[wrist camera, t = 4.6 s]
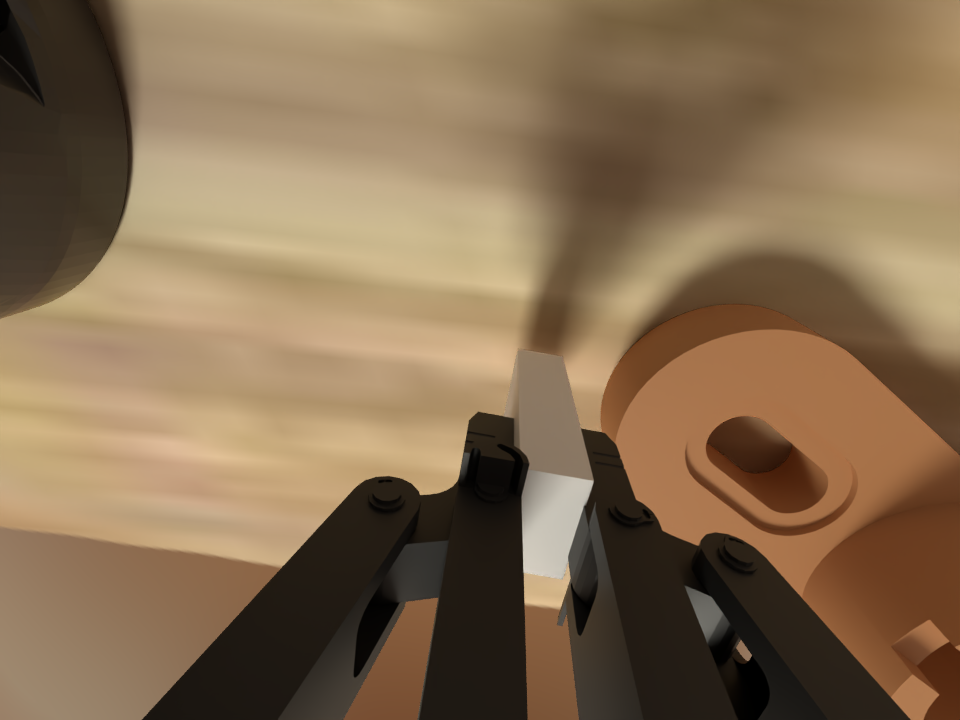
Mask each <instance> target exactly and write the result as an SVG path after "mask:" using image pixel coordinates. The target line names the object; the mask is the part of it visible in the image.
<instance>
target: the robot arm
mask: <svg viewBox="0 0 960 720" xmlns="http://www.w3.org/2000/svg"><path fill="white" fill-rule="evenodd" d="M127 172H128V150H127V134H126V126H125V118H124V112H123V107H122V101H121V96H120V92H119V88H118V84H117V80H116V76H115V73H114V70H113V66H112V63H111V60H110V56H109V54H108V51H107V48H106V45H105V43H104V40H103V37H102V35H101V32H100V30H99V27H98V25H97V23H96V20H95V18H94V16H93V13H92V11H91V9H90V7H89V5H88V3H87V1H86V0H0V319H1V318H4V317H7V316H10V315H13V314H16V313H20V312H23V311H26V310H29V309H32V308H35V307H38V306H41V305H44V304H46V303H49V302H51V301H53V300H55V299H57V298H59V297H61V296H63V295H64V294H66V293H67V292H69V291H70V290H72V289H73V288H75V287H76V286H77V285H78V284H79V283H80V282H82V281H83V280H84V279H85V278H86V277H87V276H88V275H89V274H90V273H91V272H92V271H93V269H94V268H95V267H96V265H97V264H98V263H99V261H100V260H101V259H102V257H103V255H104V254H105V252H106V250H107V249H108V247H109V245H110V243H111V241H112V239H113V237H114V234H115V231H116V229H117V226H118V223H119V220H120V216H121V213H122V209H123V204H124V199H125V193H126V184H127ZM620 457H621V456H620V454H619V451H618V448H617V445H616V444H615V443H614V442H613V441H612V440H611V439H610V438H609V437H608V435H607V434H606V433H603V432H597V431H591V430H586V429H581V427H580V423H579V419H578V415H577V411H576V407H575V403H574V399H573V395H572V391H571V387H570V383H569V379H568V375H567V371H566V367H565V363H564V359H563V356H557V355H552V354H546V353H540V352H535V351H529V350H523V349H518V350H517V355H516V360H515V364H514V369H513V374H512V379H511V383H510V388H509V393H508V398H507V402H506V407H505V412H504V416H499V415H493V414H487V413H482V412H478V413H477V414H475V415H474V416H473V417H472V418H471V419H470V420H469V424H468V430H467V436H466V441H465V447H464V452H463V458H462V464H461V469H460V475H459V479H458V481H457V483H456V484H455V485H454V486H453V487H451V488H450V489H448V490H447V491H444V492H441V493H437V494H431V495H420V494H419V491H418V490H417V489H416V488H415V487H414V486H413V485H412V484H411V483H409V482H407V481H405V480H403V479H400V478H395V477H390V476H385V477H375V478H372V479H369V480H365V481H364V482H362V483H361V484H360V485H358V486H357V487H356V488H355V489H354V490H353V491H352V492H351V493H350V494H349V495H348V496H347V497H346V499H345V500H344V501H343V502H342V503H341V504H340V505H339V506H338V507H337V508H336V509H335V510H334V512H333V513H332V514H331V515H330V516H329V517H328V518H327V519H326V520H325V521H324V522H323V524H322V525H321V526H320V527H319V528H318V529H317V530H316V531H315V532H314V533H313V534H312V535H311V537H310V538H309V539H308V540H307V541H306V542H305V543H304V544H303V545H302V546H301V547H300V549H299V550H298V551H297V552H296V553H295V554H294V555H293V556H292V557H291V558H290V559H289V560H288V562H287V563H286V564H285V565H284V566H283V567H282V568H281V569H280V570H279V572H277V574H276V575H275V576H274V577H273V578H272V579H271V580H270V581H269V582H268V583H267V585H265V587H264V588H263V589H262V590H261V591H260V592H259V593H258V594H257V595H256V596H255V598H254V599H253V600H252V601H251V602H250V603H249V604H248V605H247V606H246V607H245V608H244V609H243V611H242V612H241V613H240V614H239V615H238V616H237V617H236V618H235V619H234V620H233V621H232V622H231V624H230V625H229V626H228V627H227V628H226V629H225V630H224V631H223V632H222V633H221V634H220V635H219V637H218V638H217V639H216V640H215V641H214V642H213V643H212V644H211V645H210V646H209V647H208V649H207V650H206V651H205V652H204V653H203V654H202V655H201V656H200V657H199V658H198V659H197V660H196V662H195V663H194V664H193V665H192V666H191V667H190V668H189V669H188V670H187V671H186V672H185V674H184V675H183V676H182V677H181V678H180V679H179V680H178V681H177V682H176V683H175V684H174V685H173V687H172V688H171V689H170V690H169V691H168V692H167V693H166V694H165V695H164V696H163V697H162V698H161V700H160V701H159V702H158V703H157V704H156V705H155V706H154V707H153V708H152V709H151V710H150V712H149V713H148V714H147V715H146V716H145V717H144V718H143V719H142V720H343V718H344V717H345V715H346V713H347V712H348V709H349V708H350V706H351V704H352V702H353V701H354V699H355V697H356V695H357V693H358V691H359V690H360V688H361V686H362V684H363V682H364V680H365V679H366V677H367V675H368V673H369V671H370V669H371V668H372V666H373V664H374V662H375V660H376V658H377V657H378V655H379V653H380V651H381V649H382V647H383V646H384V644H385V642H386V640H387V638H388V636H389V635H390V633H391V631H392V629H393V627H394V625H395V624H396V622H397V620H398V618H399V616H400V614H401V613H402V611H403V609H404V607H405V603H406V602H407V601H415V600H422V599H430V598H438V602H437V608H436V614H435V620H434V626H433V632H432V638H431V644H430V650H429V655H428V661H427V667H426V673H425V679H424V685H423V691H422V697H421V703H420V709H419V714H418V720H527V686H526V685H527V683H526V646H525V610H524V573H528V574H534V575H540V576H546V577H551V578H557V579H563V577H564V574H565V571H566V567H567V564H568V561H569V569H570V576H571V579H570V582H569V585H568V588H567V591H566V594H565V597H564V600H563V604H562V607H561V610H560V613H559V616H558V623H557V624H558V625H560V626H562V625H563V622H564V619H565V617H566V615H567V618H568V627H569V636H570V644H571V653H572V661H573V671H574V680H575V688H576V697H577V706H578V715H579V720H911V719H910V718H909V717H908V716H907V715H906V714H905V713H904V711H903V710H902V709H901V708H900V707H899V706H898V705H897V704H896V703H895V701H894V700H893V699H892V698H891V697H890V696H889V695H888V694H887V692H886V691H885V690H884V689H883V688H882V687H881V686H880V685H879V684H878V682H877V681H876V680H875V679H874V678H873V677H872V676H871V675H870V673H869V672H868V671H867V670H866V669H865V668H864V667H863V666H862V665H861V663H860V662H859V661H858V660H857V659H856V658H855V657H854V656H853V654H852V653H851V652H850V651H849V650H848V649H847V648H846V647H845V646H844V644H843V643H842V642H841V641H840V640H839V639H838V638H837V637H836V635H835V634H834V633H833V632H832V631H831V630H830V629H829V628H828V627H827V625H826V624H825V623H824V622H823V621H822V620H821V619H820V618H819V616H818V615H817V614H816V613H815V612H814V611H813V610H812V609H811V608H810V606H809V605H808V604H807V603H806V602H805V601H804V600H803V599H802V597H801V596H800V595H799V594H798V593H797V592H796V591H795V590H794V589H793V587H792V586H791V585H790V584H789V583H788V582H787V581H786V580H785V578H784V577H783V576H782V575H781V574H780V573H779V572H778V571H777V570H776V568H775V567H774V566H773V565H772V564H771V563H770V562H769V561H768V559H767V558H766V557H765V556H764V555H762V554H761V553H760V552H759V551H758V550H757V549H756V548H755V547H753V546H751V545H750V544H748V543H747V542H745V541H743V540H742V539H739V538H737V537H735V536H731V535H729V534H724V533H717V532H714V533H709V534H706V535H705V536H704V537H703V538H702V539H701V541H700V543H699V545H698V546H697V545H695V544H692V543H690V542H687V541H685V540H682V539H680V538H677V537H675V536H673V535H671V534H668V533H666V532H664V531H663V530H662V528H661V525H660V523H659V520H658V519H657V517H656V516H655V514H654V513H653V511H651V510H650V509H649V508H648V507H647V506H646V505H644V504H643V503H641V502H639V501H638V500H636V498H635V495H634V492H633V490H632V487H631V484H630V481H629V479H628V476H627V473H626V470H625V469H624V465H623V462H622V459H620ZM740 640H742V641H743V643H744V644H745V646H746V647H747V648H748V650H749V651H750V653H751V654H752V657H751V658H750V660H749V661H746V660H745V659H744V658H743V657H742V656H741V655H740V653H739V652H738V650H737V649H736V647H737V645H738V643H739V642H740Z"/></svg>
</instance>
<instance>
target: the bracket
mask: <svg viewBox="0 0 960 720" xmlns="http://www.w3.org/2000/svg"><path fill="white" fill-rule="evenodd" d="M739 416H752V417H757V418H760V419H762V420H764V421H765V422H766V423H768V424H769V425H770V426H771V427H773V428H774V429H775V430H776V431H777V432H778V433H780V434H781V435H782V436H783V437H784V438H786V439H787V440H788V441H789V442H790V443H792V448H791V452H790V454H789V456H788V458H787V459H786V461H785V462H784V463H783V464H782V465H780V466H779V467H777V468H776V469H774V470H771V471H769V472H765V473H748V472H745V471H743V470H741V469H740V468H738V467H737V466H736V465H735V464H733V463H732V462H731V461H730V460H728V459H727V458H726V457H725V456H723V455H722V454H721V453H720V452H718V451H717V450H716V449H715V448H713V447H712V446H711V445H710V444H708V443H707V440H708V437H709V435H710V434H711V433H712V431H713V430H714V429H715V428H716V427H717V426H718V425H720V424H721V423H723V422H725V421H727V420H729V419H731V418H735V417H739ZM601 427H602V432H603V433H606V434H607V435H608V437H609V438H610V439H611V440H612V441H613V442H614V443H615V444H616V445H617V448H618V451H619V454H620V456H621V457H620V459H622V462H623V465H624V469H625V470H626V473H627V476H628V479H629V481H630V484H631V487H632V490H633V492H634V495H635V498H636V500H638V501H639V502H641V503H643V504H644V505H646V506H647V507H648V508H649V509H650V510H651V511H653V513H654V514H655V516H656V517H657V519H658V520H659V523H660V525H661V528H662V530H663V531H664V532H666V533H668V534H671V535H673V536H675V537H677V538H680V539H682V540H685V541H687V542H690V543H692V544H695V545H697V546H698V545H699V543H700V541H701V539H702V538H703V537H704V536H705V535H706V534H709V533H714V532H717V533H724V534H729V535H731V536H735V537H737V538H739V539H742V540H743V541H745V542H747V543H748V544H750V545H751V546H753V547H755V548H756V549H757V550H758V551H759V552H760V553H761V554H762V555H764V556H765V557H766V558H767V559H768V561H769V562H770V563H771V564H772V565H773V566H774V567H775V568H776V570H777V571H778V572H779V573H780V574H781V575H782V576H783V577H784V578H785V580H786V581H787V582H788V583H789V584H790V585H791V586H792V587H793V589H794V590H795V591H796V592H797V593H798V594H799V595H800V596H801V597H802V599H803V600H804V601H805V602H806V603H807V604H808V605H809V606H810V608H811V609H812V610H813V611H814V612H815V613H816V614H817V615H818V616H819V618H820V619H821V620H822V621H823V622H824V623H825V624H826V625H827V627H828V628H829V629H830V630H831V631H832V632H833V633H834V634H835V635H836V637H837V638H838V639H839V640H840V641H841V642H842V643H843V644H844V646H845V647H846V648H847V649H848V650H849V651H850V652H851V653H852V654H853V656H854V657H855V658H856V659H857V660H858V661H859V662H860V663H861V665H862V666H863V667H864V668H865V669H866V670H867V671H868V672H869V673H870V675H871V676H872V677H873V678H874V679H875V680H876V681H877V682H878V684H879V685H880V686H881V687H882V688H883V689H884V690H885V691H886V692H887V694H888V695H889V696H890V697H891V698H892V699H893V700H894V701H895V703H896V704H897V705H898V706H899V707H900V708H901V709H902V710H903V711H904V713H905V714H906V715H907V716H908V717H909V718H910V719H911V720H960V455H959V454H958V453H957V452H956V451H955V450H953V449H952V448H951V447H950V446H949V445H948V444H947V443H946V442H945V441H944V440H943V439H942V438H941V437H940V436H938V435H937V434H936V433H935V432H934V431H933V430H932V429H931V428H930V427H929V426H928V425H927V424H926V423H925V422H923V421H922V420H921V419H920V418H919V417H918V416H917V415H916V414H915V413H914V412H913V411H912V410H911V409H910V408H908V407H907V406H906V405H905V404H904V403H903V402H902V401H901V400H900V399H899V398H898V397H897V396H896V395H895V394H893V393H892V392H891V391H890V390H889V389H888V388H887V387H886V386H885V385H884V384H883V383H882V382H881V381H880V380H878V379H877V378H876V377H875V376H874V375H873V374H872V373H871V372H870V371H869V370H868V369H867V368H866V367H865V366H863V365H862V364H861V363H860V362H859V361H858V360H857V359H856V358H855V357H853V356H852V355H851V354H850V353H848V352H847V351H846V350H844V349H843V348H841V347H839V346H838V345H836V344H834V343H833V342H831V341H829V340H827V339H826V338H824V337H822V336H821V335H819V334H817V333H815V332H814V331H812V330H810V329H809V328H807V327H805V326H803V325H802V324H800V323H798V322H797V321H795V320H793V319H791V318H790V317H788V316H786V315H784V314H781V313H779V312H777V311H774V310H770V309H767V308H764V307H759V306H753V305H744V304H723V305H715V306H709V307H704V308H700V309H696V310H693V311H689V312H686V313H683V314H681V315H679V316H676V317H674V318H672V319H670V320H668V321H666V322H664V323H662V324H661V325H659V326H657V327H656V328H654V329H653V330H651V331H650V332H648V333H647V334H646V335H645V336H643V337H642V338H641V339H640V340H638V341H637V342H636V343H635V344H634V345H633V346H632V347H631V348H630V349H629V350H628V352H627V353H626V354H625V355H624V356H623V358H622V359H621V360H620V362H619V363H618V365H617V366H616V368H615V369H614V371H613V373H612V375H611V377H610V379H609V381H608V383H607V386H606V389H605V392H604V395H603V399H602V406H601Z"/></svg>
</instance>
